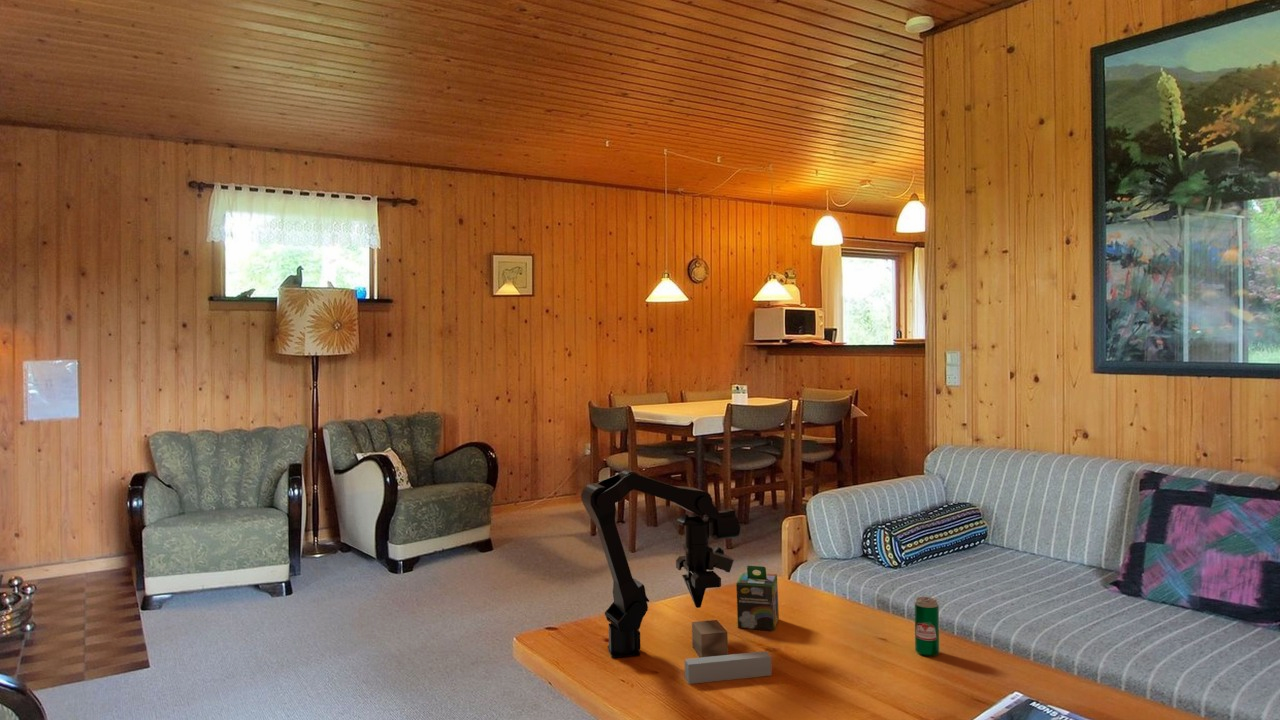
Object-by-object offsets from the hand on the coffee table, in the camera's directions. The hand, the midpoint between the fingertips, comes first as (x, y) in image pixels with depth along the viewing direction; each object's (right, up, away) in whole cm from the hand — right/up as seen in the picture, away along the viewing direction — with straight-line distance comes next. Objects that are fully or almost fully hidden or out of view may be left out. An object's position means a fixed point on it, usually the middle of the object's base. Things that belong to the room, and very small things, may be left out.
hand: (698, 607), depth 186 cm
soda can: (+50, -7, -11) cm, 52 cm away
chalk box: (+16, -7, +9) cm, 20 cm away
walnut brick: (+2, -8, -9) cm, 12 cm away
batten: (+5, -8, -22) cm, 24 cm away
